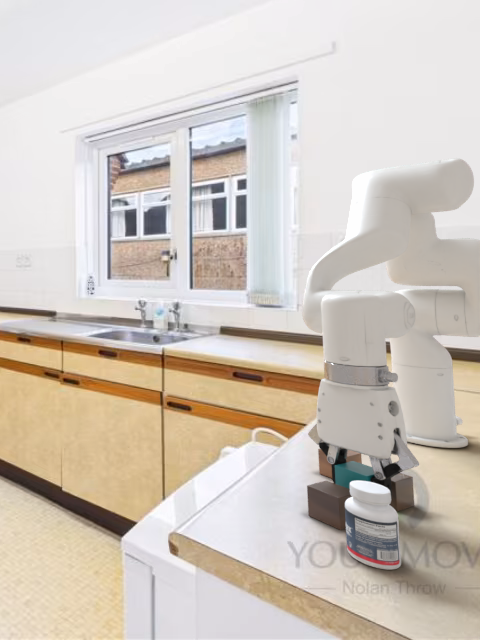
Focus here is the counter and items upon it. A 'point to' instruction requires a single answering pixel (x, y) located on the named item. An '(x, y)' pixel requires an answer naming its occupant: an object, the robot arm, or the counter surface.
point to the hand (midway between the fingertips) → (361, 495)
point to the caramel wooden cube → (326, 467)
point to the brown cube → (328, 503)
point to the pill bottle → (372, 526)
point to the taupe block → (402, 492)
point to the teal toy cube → (352, 473)
